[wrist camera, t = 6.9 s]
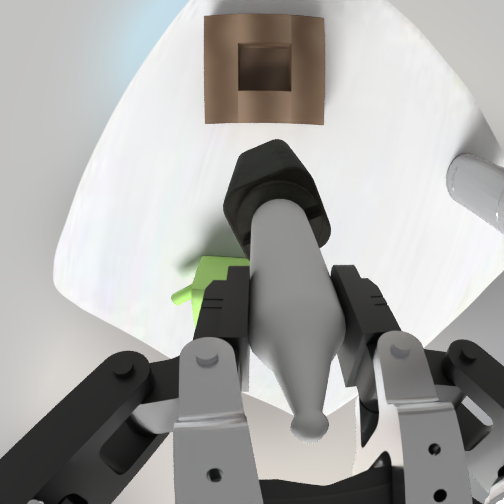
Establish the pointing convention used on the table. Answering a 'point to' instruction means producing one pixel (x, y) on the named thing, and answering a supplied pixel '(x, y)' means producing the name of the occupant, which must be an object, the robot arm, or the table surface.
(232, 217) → the candle
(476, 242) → the table surface
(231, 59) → the holder
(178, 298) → the green square pitcher
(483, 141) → the table surface
